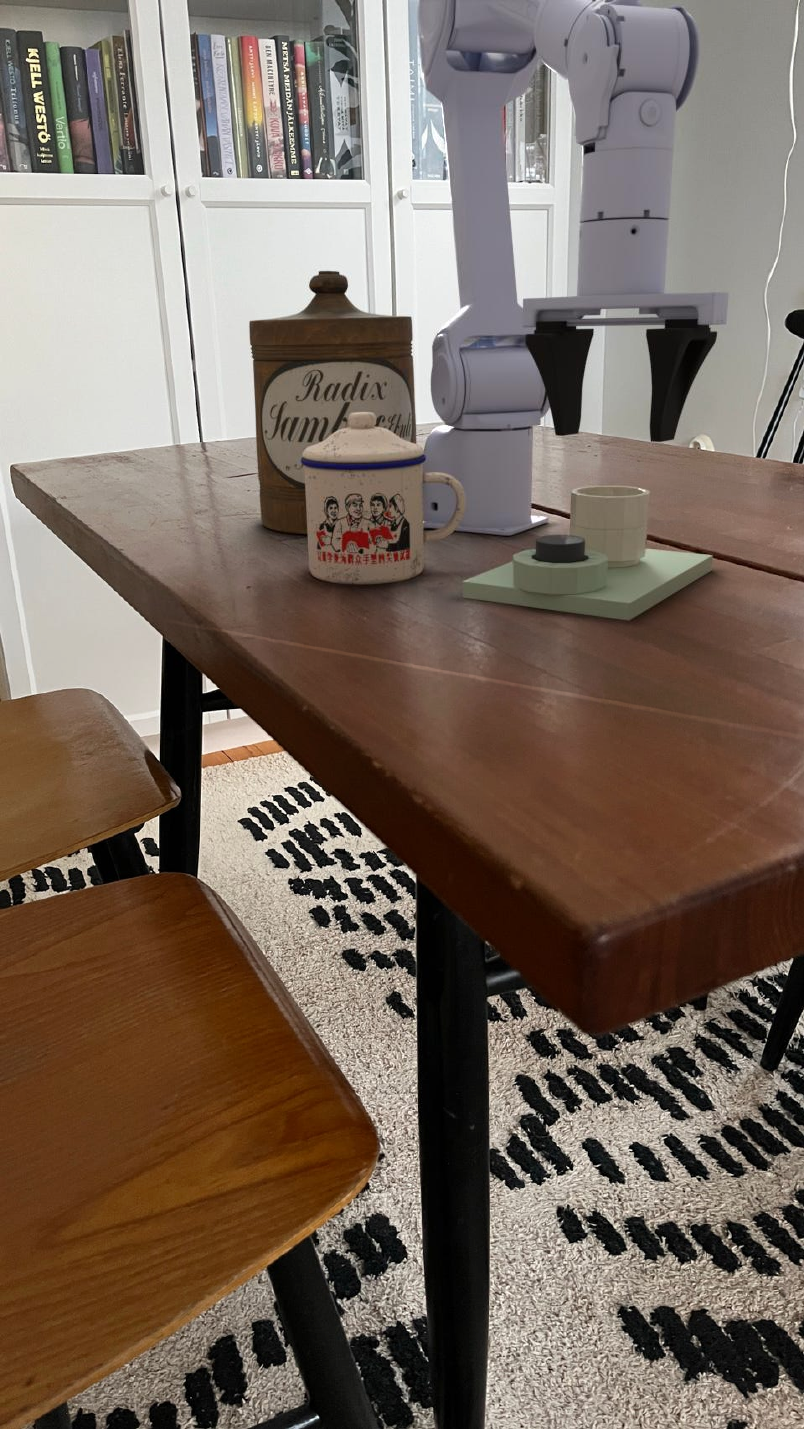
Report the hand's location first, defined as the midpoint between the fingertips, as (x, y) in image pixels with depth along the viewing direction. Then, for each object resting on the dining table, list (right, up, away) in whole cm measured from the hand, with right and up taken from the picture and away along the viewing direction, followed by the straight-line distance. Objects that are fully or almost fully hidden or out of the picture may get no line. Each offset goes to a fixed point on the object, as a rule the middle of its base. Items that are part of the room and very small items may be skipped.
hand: (613, 437), depth 73 cm
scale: (-1, -10, +2) cm, 10 cm away
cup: (0, -8, +3) cm, 9 cm away
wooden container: (-21, -1, +27) cm, 34 cm away
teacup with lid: (-16, -9, +6) cm, 19 cm away
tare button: (-4, -9, -4) cm, 11 cm away
